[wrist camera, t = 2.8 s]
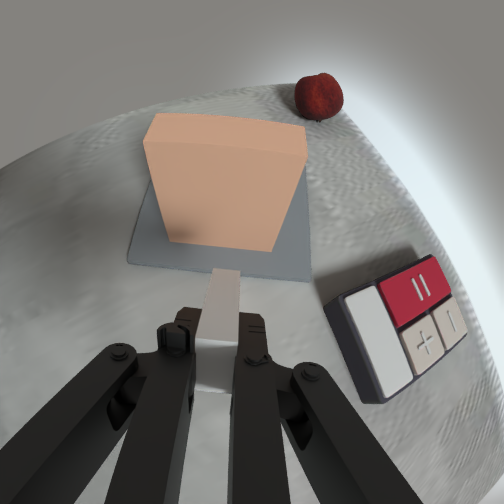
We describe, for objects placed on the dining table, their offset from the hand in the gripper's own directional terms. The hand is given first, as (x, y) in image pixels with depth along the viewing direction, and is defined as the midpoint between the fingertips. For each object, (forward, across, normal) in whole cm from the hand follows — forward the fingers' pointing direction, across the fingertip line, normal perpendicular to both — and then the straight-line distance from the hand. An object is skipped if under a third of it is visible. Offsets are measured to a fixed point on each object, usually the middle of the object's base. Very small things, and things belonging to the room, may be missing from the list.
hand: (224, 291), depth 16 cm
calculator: (+8, +18, -7) cm, 21 cm away
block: (+13, -1, 0) cm, 13 cm away
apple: (+30, +10, +16) cm, 36 cm away
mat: (+17, -1, +3) cm, 17 cm away
